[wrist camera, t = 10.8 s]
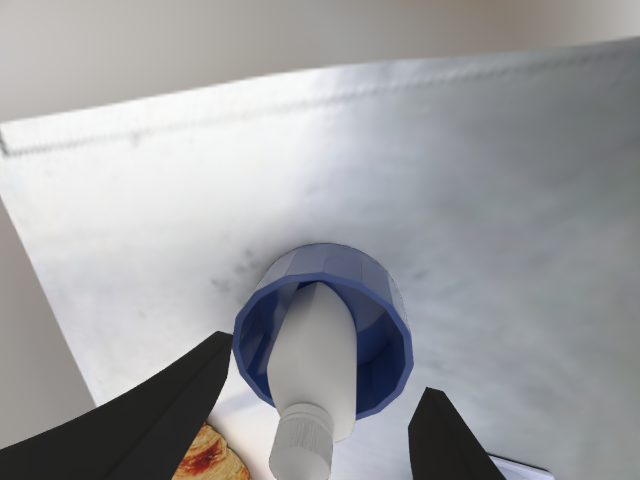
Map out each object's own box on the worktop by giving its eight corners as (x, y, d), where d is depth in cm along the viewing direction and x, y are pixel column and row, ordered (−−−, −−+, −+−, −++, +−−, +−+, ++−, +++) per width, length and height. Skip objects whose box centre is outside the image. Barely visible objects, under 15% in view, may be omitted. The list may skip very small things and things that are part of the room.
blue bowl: (376, 383, 24) (381, 442, 19) (248, 348, 24) (222, 397, 20) (422, 265, 20) (441, 303, 16) (270, 225, 21) (245, 251, 16)
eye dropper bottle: (297, 345, 23) (238, 552, 12) (294, 277, 21) (220, 445, 10) (356, 349, 22) (354, 570, 11) (358, 280, 20) (358, 460, 9)
